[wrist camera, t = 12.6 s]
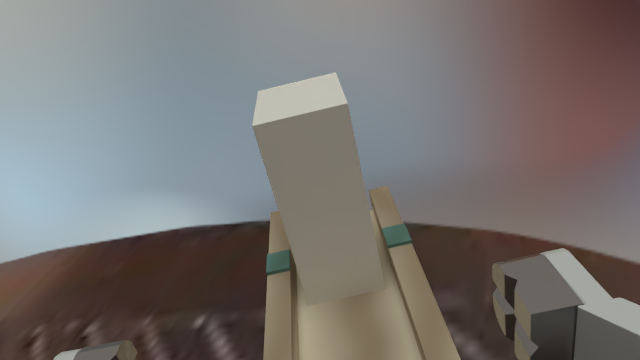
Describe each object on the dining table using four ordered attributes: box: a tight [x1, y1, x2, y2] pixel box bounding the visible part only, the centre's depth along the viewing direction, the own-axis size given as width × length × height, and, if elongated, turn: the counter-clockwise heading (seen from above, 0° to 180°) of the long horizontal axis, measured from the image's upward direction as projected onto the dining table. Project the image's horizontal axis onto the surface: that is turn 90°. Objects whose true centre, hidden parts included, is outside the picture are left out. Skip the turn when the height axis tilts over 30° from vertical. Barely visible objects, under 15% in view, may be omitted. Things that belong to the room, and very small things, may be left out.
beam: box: [263, 186, 461, 360], centre depth 23 cm, size 8×17×6 cm, turn 5°
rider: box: [252, 73, 386, 306], centre depth 23 cm, size 4×5×10 cm
